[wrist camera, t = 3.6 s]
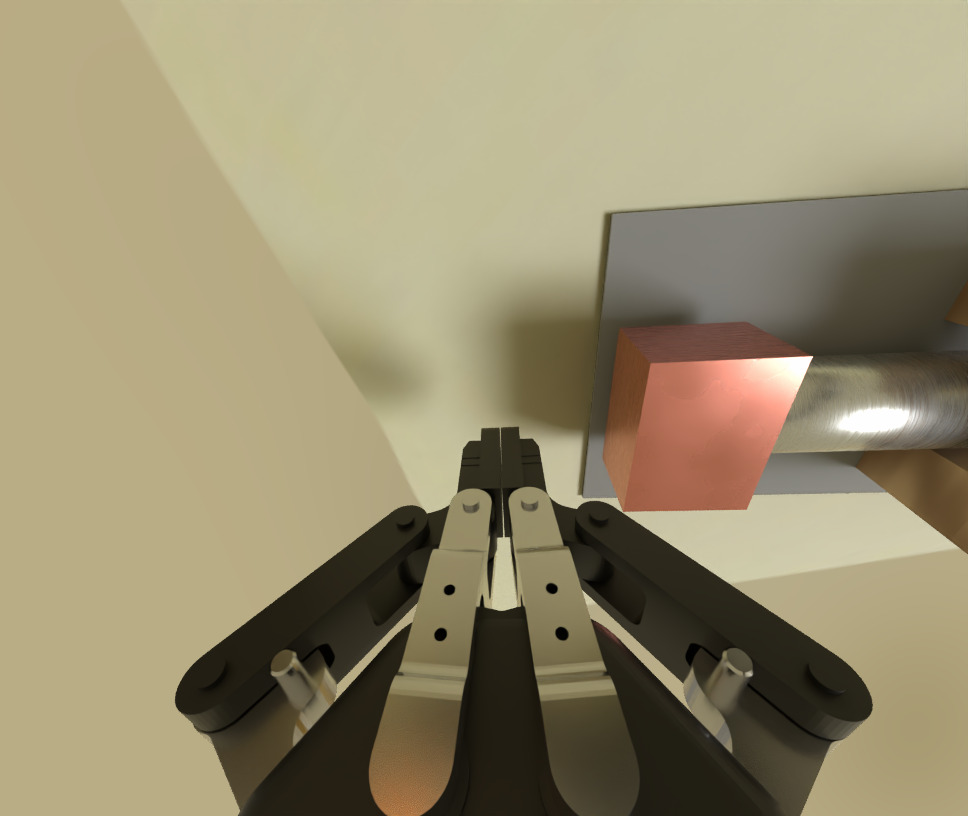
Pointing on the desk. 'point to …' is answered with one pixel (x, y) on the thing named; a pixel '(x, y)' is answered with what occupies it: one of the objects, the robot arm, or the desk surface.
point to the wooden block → (928, 472)
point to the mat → (788, 295)
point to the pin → (761, 410)
